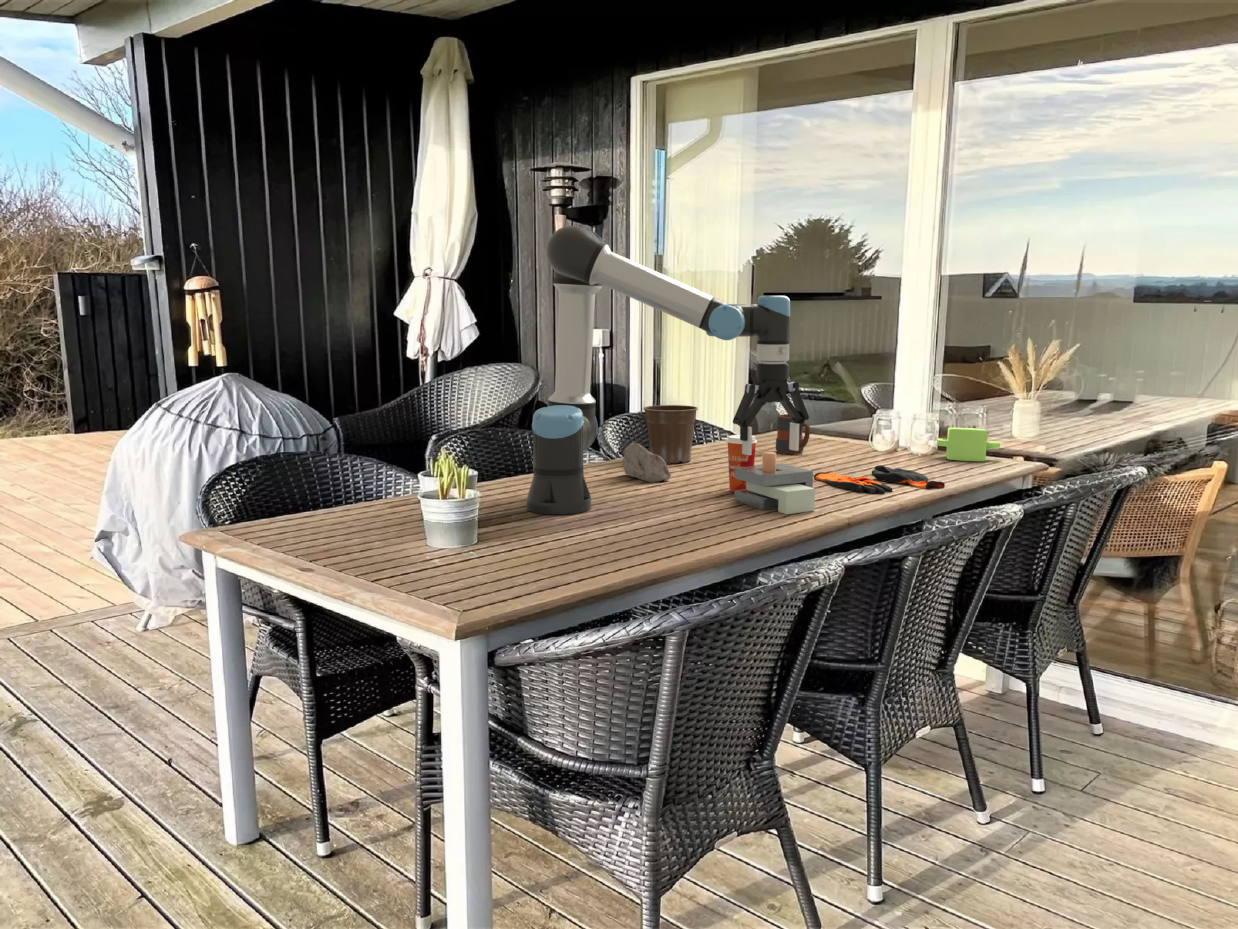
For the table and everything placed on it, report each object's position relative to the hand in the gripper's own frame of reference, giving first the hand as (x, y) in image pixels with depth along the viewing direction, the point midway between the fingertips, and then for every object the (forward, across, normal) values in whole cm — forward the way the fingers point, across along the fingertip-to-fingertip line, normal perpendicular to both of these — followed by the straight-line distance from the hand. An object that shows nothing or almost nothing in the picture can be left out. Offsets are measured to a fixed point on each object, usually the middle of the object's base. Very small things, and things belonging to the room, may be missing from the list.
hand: (770, 452), depth 234 cm
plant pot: (+12, +9, +63) cm, 65 cm away
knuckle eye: (+12, 0, -4) cm, 13 cm away
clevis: (+12, 0, 0) cm, 12 cm away
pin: (+12, 0, 0) cm, 12 cm away
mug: (+12, +50, +57) cm, 77 cm away
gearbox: (+12, +90, +24) cm, 94 cm away
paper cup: (+12, +2, +15) cm, 20 cm away
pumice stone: (+12, -11, +41) cm, 45 cm away
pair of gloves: (+13, +40, +7) cm, 43 cm away
